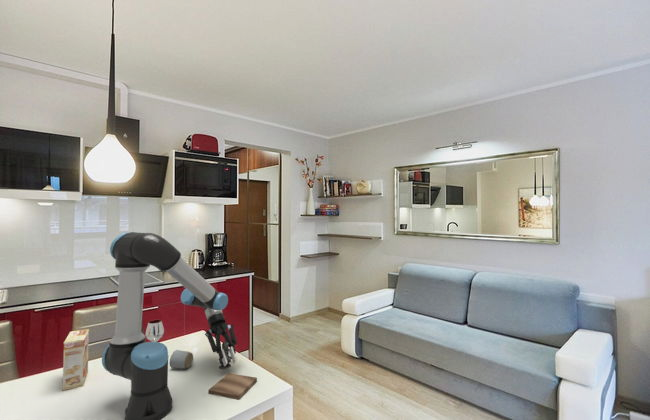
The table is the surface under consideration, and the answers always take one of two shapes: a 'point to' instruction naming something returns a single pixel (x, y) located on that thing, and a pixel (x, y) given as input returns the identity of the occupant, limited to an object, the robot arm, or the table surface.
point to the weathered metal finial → (226, 350)
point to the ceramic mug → (181, 359)
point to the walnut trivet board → (233, 386)
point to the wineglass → (154, 330)
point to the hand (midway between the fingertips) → (230, 362)
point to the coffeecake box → (75, 359)
